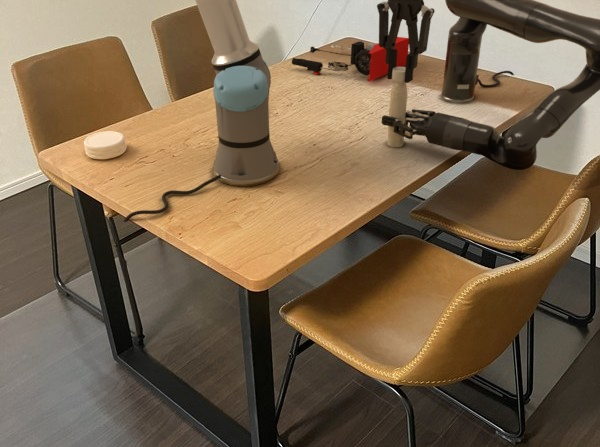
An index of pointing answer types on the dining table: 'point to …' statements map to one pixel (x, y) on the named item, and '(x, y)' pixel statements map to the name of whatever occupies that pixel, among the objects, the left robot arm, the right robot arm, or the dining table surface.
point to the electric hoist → (362, 58)
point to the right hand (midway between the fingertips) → (387, 116)
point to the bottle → (397, 111)
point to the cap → (398, 74)
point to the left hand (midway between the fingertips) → (400, 79)
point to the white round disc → (105, 145)
